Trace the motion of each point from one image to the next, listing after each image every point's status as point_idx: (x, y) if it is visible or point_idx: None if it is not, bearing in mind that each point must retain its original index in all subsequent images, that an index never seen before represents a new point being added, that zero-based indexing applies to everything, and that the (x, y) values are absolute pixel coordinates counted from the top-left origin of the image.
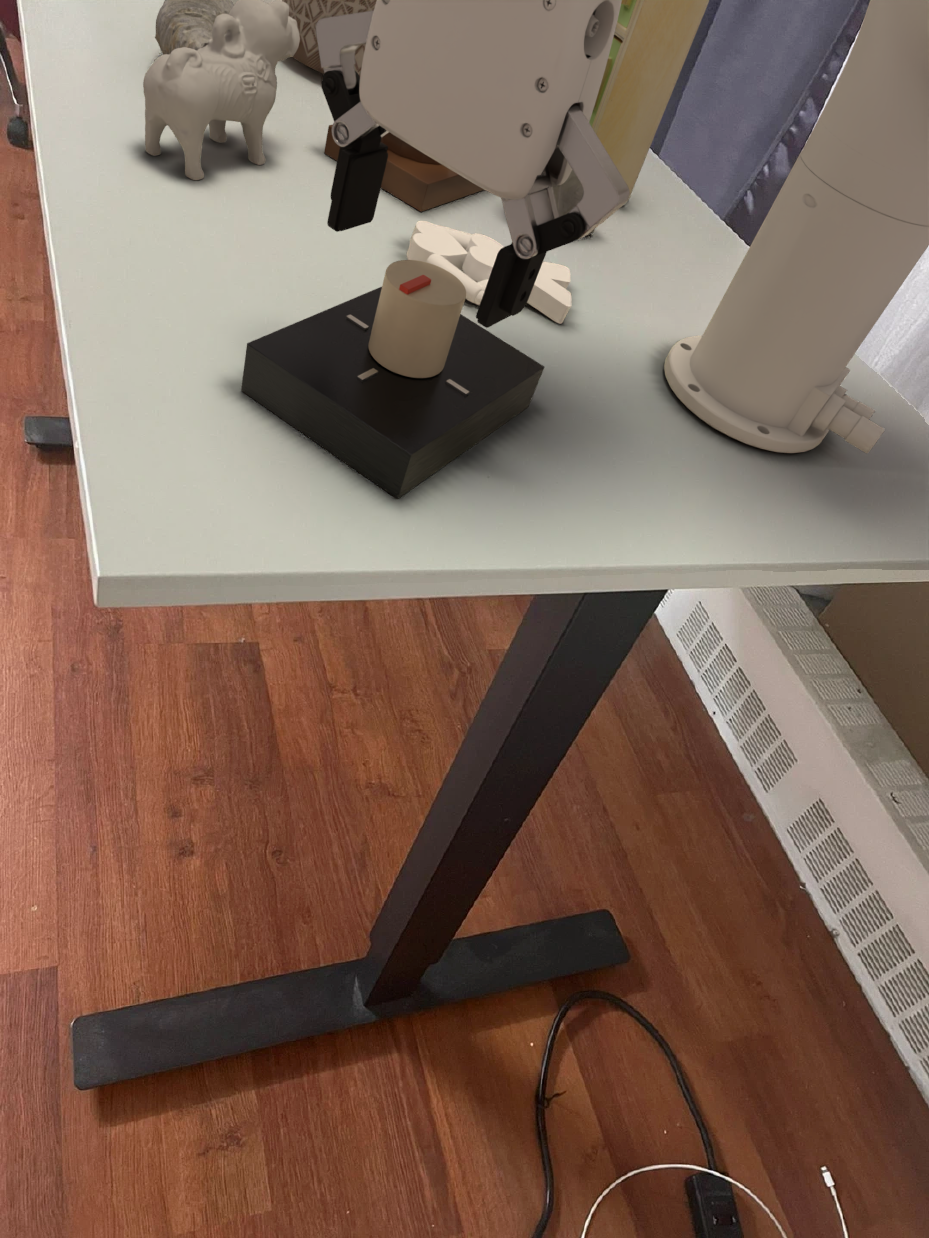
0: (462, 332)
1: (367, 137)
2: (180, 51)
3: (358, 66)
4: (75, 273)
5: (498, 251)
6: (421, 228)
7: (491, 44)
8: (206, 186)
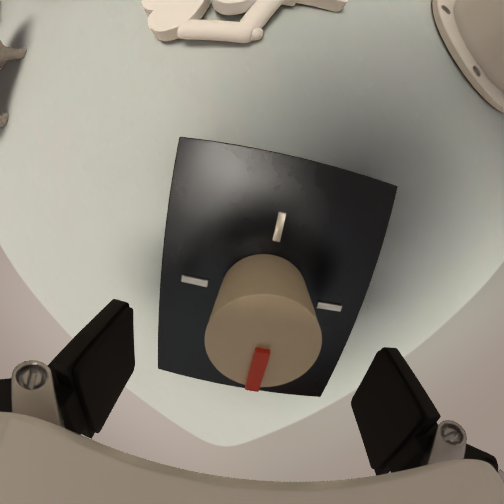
0: (295, 193)
1: (69, 427)
2: None
3: None
4: (40, 296)
5: None
6: (149, 4)
7: None
8: (12, 120)
